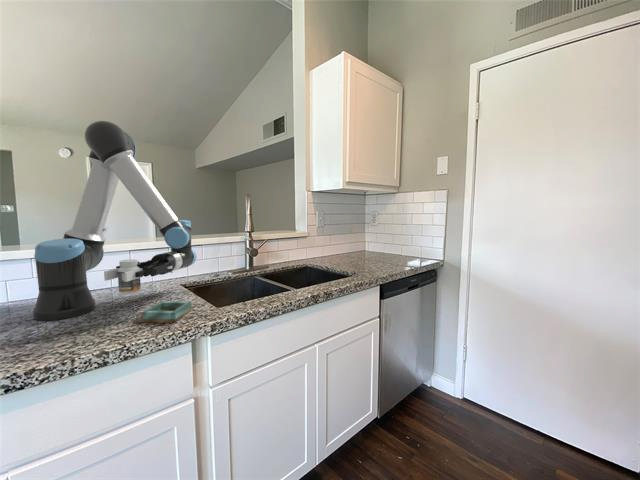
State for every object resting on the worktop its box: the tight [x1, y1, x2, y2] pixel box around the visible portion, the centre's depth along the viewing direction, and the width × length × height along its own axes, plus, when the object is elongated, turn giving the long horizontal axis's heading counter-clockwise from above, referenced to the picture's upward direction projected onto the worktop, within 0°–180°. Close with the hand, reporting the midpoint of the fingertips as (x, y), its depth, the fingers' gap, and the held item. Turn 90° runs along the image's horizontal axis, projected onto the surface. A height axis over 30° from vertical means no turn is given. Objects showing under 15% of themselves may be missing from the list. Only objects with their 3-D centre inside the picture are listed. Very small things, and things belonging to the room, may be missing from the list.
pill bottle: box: [117, 259, 142, 295], centre depth 89 cm, size 6×6×10 cm
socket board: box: [135, 301, 192, 324], centre depth 90 cm, size 12×10×3 cm
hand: (115, 276), depth 84 cm, fingers closed on pill bottle, 6 cm apart
